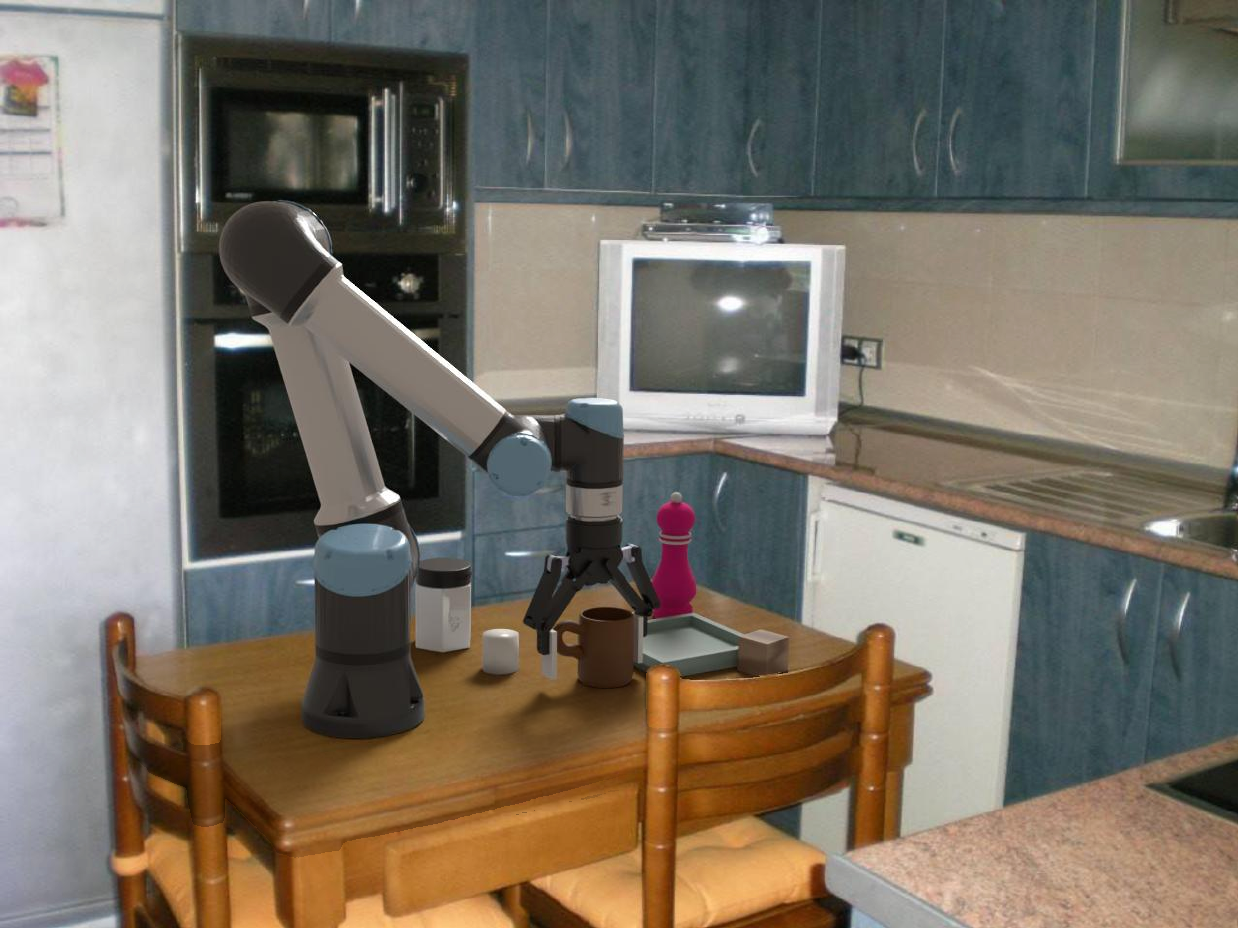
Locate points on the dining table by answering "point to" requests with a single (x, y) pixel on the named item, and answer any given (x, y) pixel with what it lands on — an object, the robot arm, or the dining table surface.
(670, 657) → the tray
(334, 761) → the dining table surface
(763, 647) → the block
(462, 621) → the jar
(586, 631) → the mug
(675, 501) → the pepper mill
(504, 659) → the white rounded cylinder
